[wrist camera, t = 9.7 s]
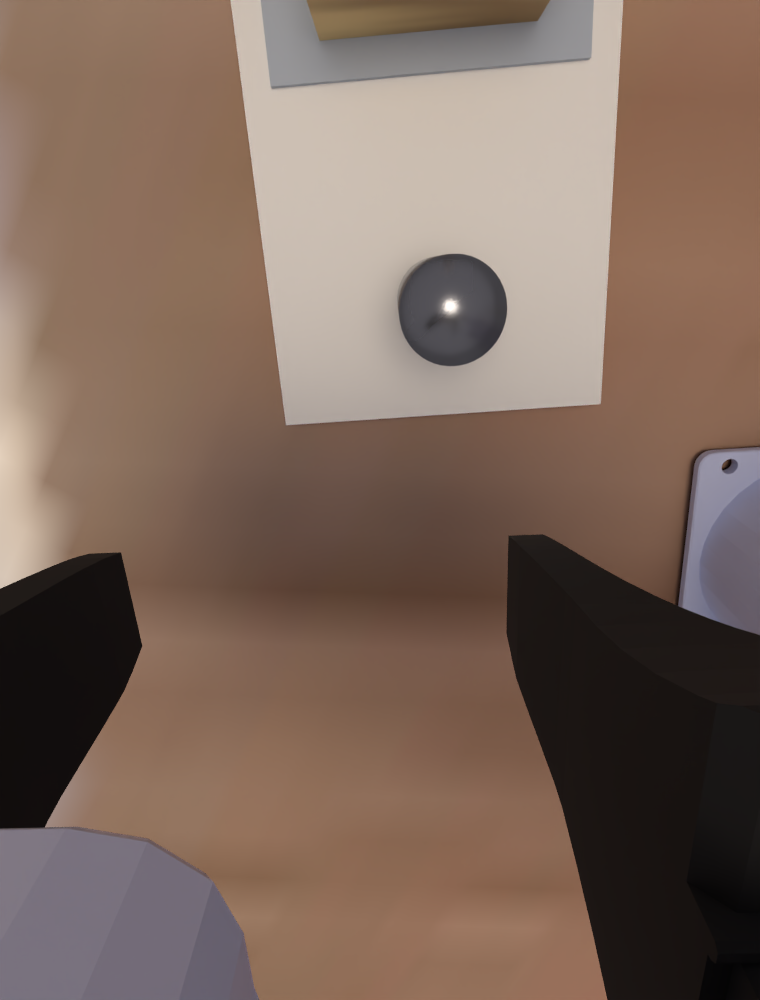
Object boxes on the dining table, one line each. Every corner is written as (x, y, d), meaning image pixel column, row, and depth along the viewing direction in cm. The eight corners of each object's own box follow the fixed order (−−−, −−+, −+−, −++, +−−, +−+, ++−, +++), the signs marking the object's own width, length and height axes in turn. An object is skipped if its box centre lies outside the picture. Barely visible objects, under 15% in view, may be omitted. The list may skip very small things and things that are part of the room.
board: (627, -330, 14) (647, -381, 13) (591, 397, 20) (602, 405, 19) (202, -280, 15) (186, -325, 14) (290, 418, 21) (284, 426, 20)
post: (472, 253, 19) (507, 249, 13) (474, 334, 20) (507, 362, 14) (394, 260, 19) (395, 257, 13) (399, 339, 20) (402, 370, 14)
